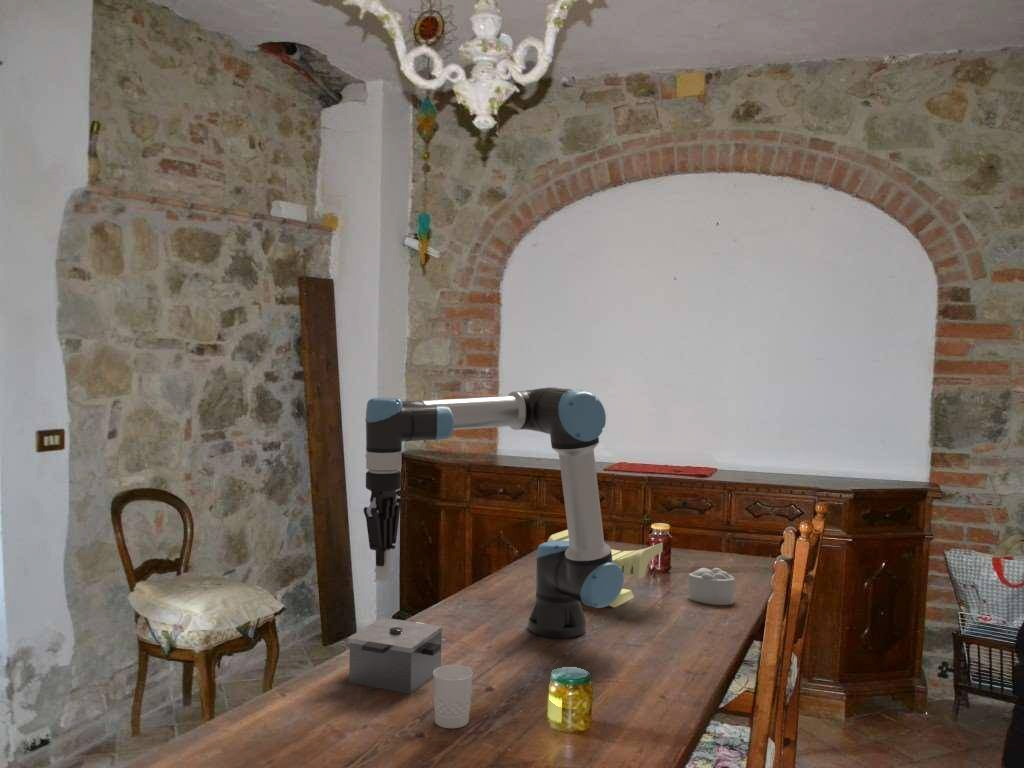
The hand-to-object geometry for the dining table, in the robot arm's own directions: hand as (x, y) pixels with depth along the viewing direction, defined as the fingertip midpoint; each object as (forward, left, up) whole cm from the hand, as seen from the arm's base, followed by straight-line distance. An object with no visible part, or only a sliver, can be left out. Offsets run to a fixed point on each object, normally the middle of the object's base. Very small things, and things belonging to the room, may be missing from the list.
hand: (382, 579), depth 191 cm
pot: (0, -7, -24) cm, 25 cm away
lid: (0, -6, -15) cm, 16 cm away
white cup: (-21, +9, -24) cm, 33 cm away
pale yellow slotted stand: (-27, -84, -24) cm, 92 cm away
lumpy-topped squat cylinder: (-57, -99, -24) cm, 116 cm away
